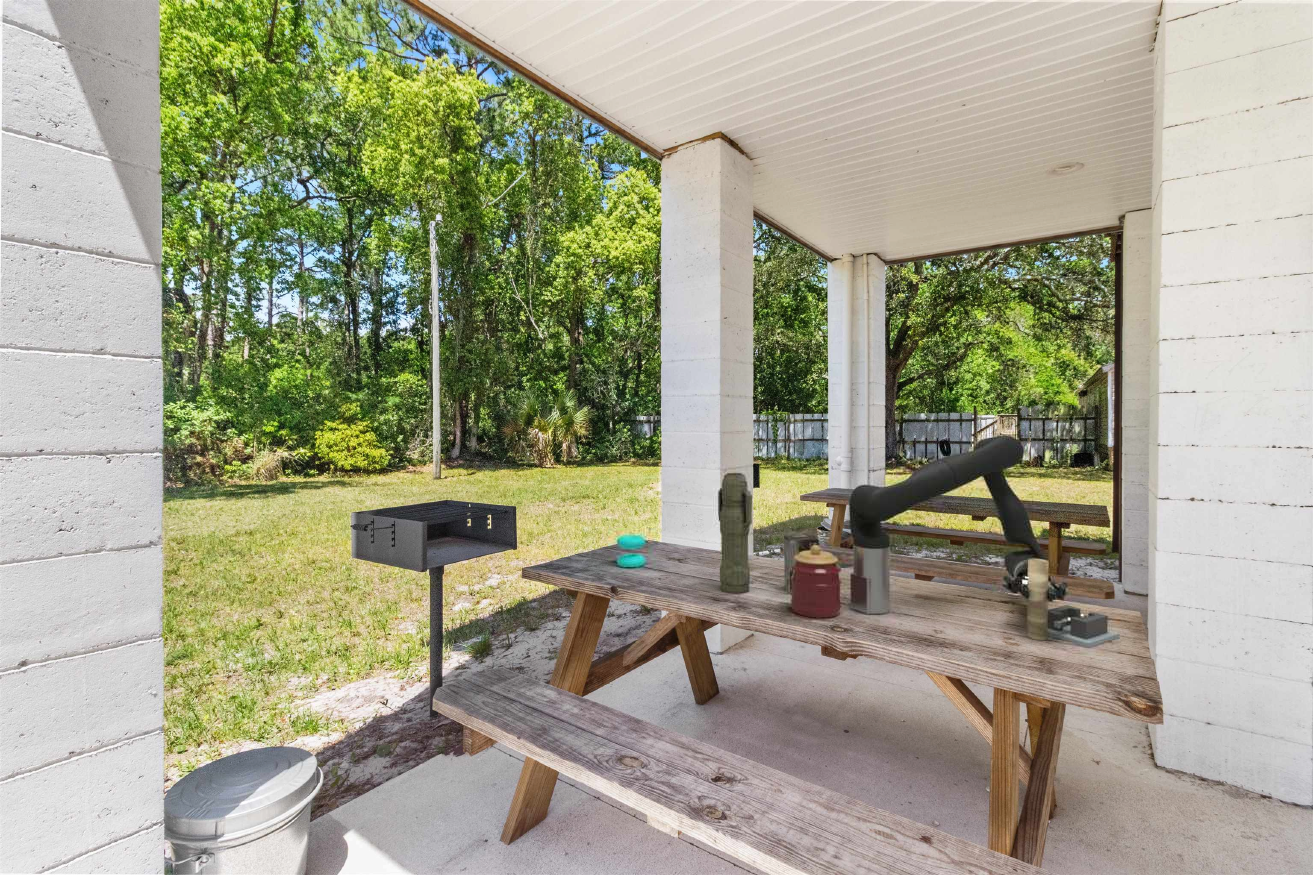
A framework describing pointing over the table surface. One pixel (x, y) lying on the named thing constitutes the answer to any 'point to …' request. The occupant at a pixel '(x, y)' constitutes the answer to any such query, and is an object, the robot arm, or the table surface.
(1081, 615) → the plunger
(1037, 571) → the birch dowel
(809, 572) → the canister
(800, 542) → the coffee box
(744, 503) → the thermos
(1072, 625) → the band socket
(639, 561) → the donuts
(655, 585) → the table surface
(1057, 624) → the plunger
